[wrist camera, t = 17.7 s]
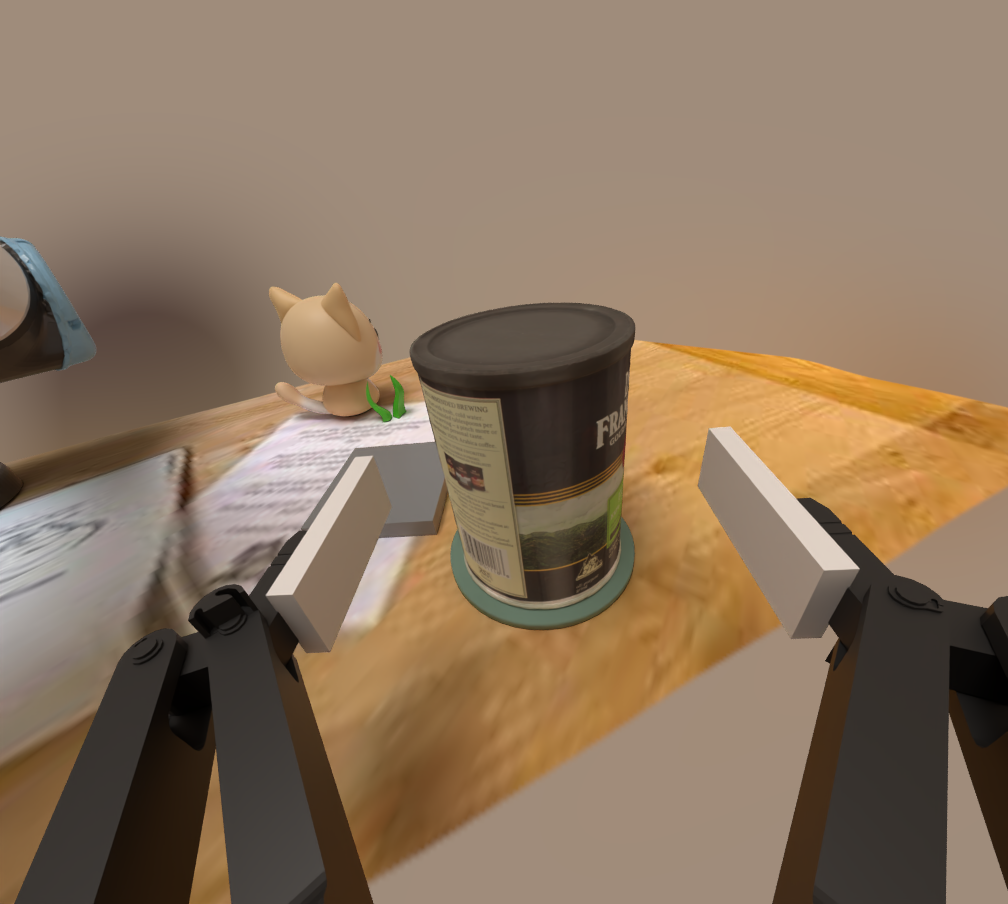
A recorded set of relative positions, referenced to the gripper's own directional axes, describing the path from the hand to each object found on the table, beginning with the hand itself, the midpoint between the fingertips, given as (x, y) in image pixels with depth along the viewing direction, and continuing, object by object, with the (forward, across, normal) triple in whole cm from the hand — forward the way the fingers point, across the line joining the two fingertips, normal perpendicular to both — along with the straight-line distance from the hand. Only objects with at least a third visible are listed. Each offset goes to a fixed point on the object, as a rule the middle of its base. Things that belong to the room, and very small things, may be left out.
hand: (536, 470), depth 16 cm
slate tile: (+8, -13, -10) cm, 18 cm away
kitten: (+30, -22, -11) cm, 39 cm away
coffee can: (+6, 0, -10) cm, 12 cm away
